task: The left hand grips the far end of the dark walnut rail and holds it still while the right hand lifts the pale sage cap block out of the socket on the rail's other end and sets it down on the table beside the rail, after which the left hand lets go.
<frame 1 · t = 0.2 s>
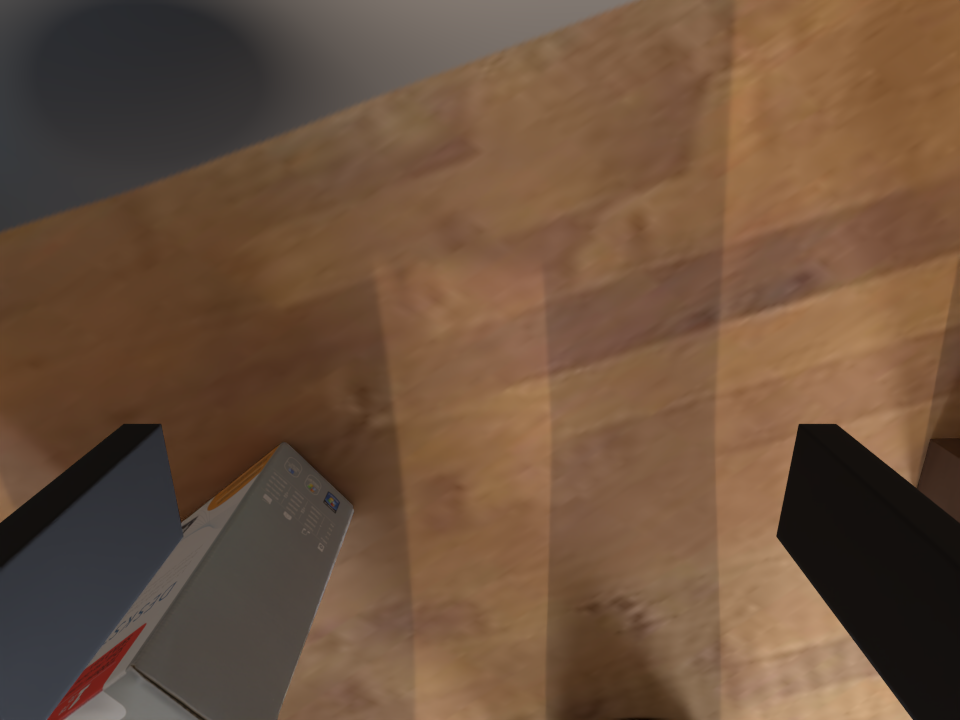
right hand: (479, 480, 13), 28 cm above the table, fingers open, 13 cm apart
hard drive box: (250, 526, 46), on the table
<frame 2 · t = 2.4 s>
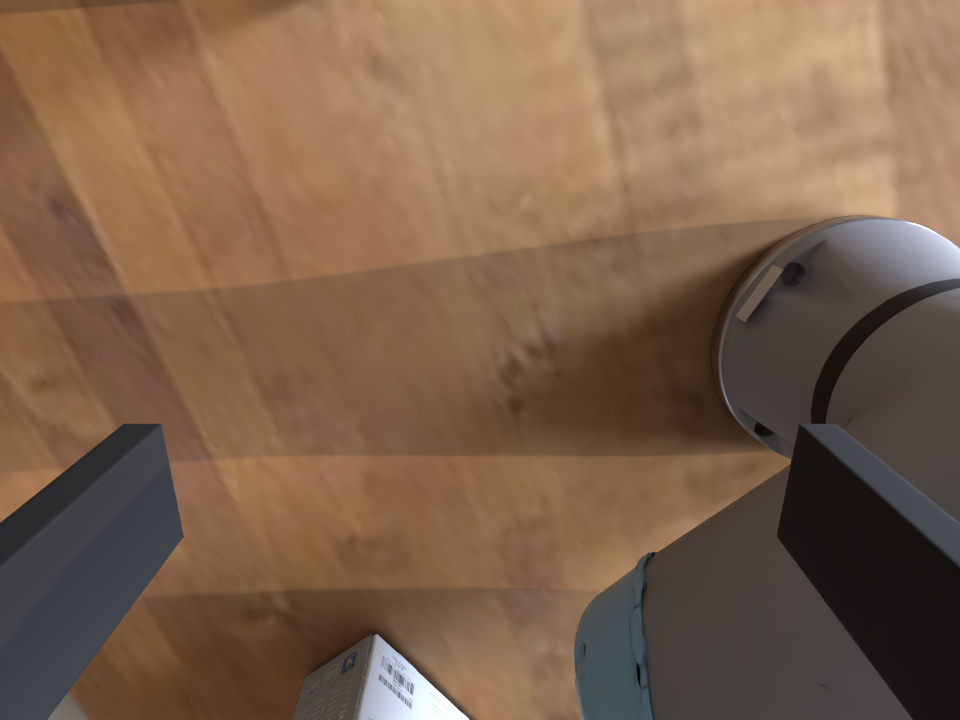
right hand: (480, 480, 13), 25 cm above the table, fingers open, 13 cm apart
hard drive box: (404, 709, 48), on the table
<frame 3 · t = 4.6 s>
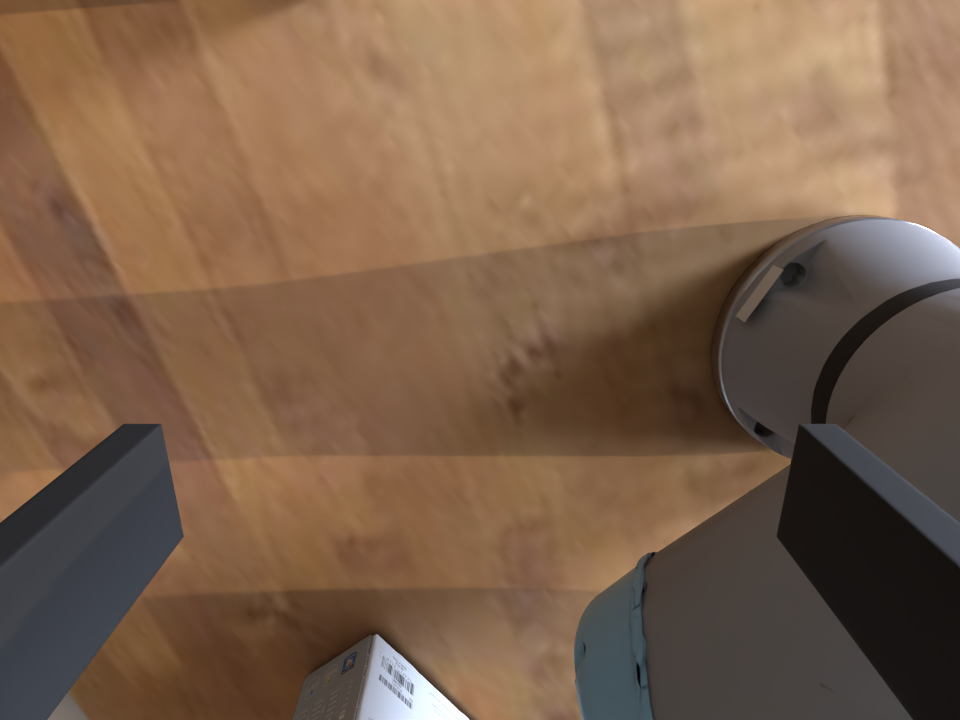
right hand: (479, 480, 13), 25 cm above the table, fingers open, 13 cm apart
hard drive box: (404, 709, 48), on the table
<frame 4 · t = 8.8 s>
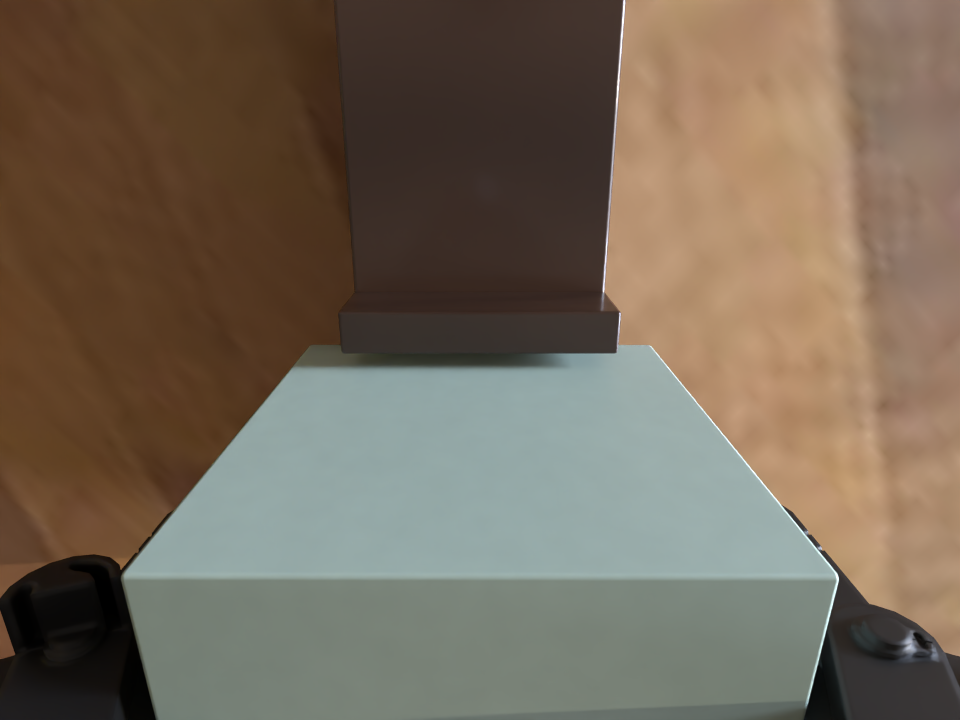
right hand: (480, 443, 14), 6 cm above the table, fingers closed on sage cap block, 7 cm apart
walnut rail: (479, 129, 18), on the table, touching left hand, sage cap block
sage cap block: (480, 464, 13), point 7 cm above the table, touching right hand, walnut rail
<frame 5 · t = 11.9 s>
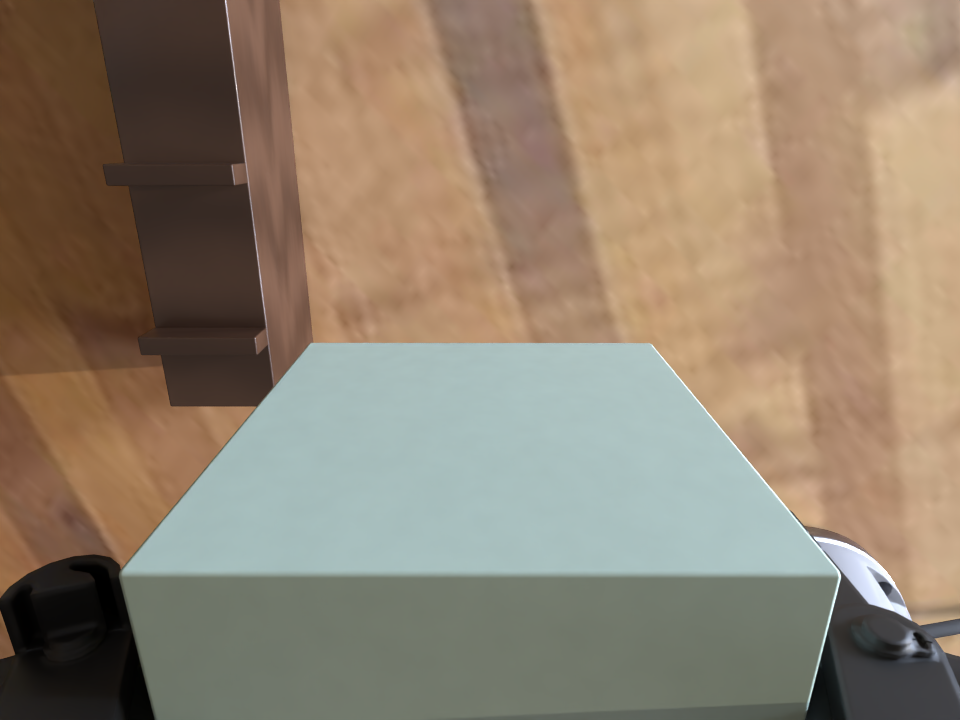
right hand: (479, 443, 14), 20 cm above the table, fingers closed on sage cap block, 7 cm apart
walnut rail: (238, 92, 30), on the table, touching left hand
sage cap block: (480, 462, 13), point 21 cm above the table, touching right hand
when the right hand's fingers open (2 cm above the table, at t = 15.6 s): sage cap block drops 3 cm, on the table.
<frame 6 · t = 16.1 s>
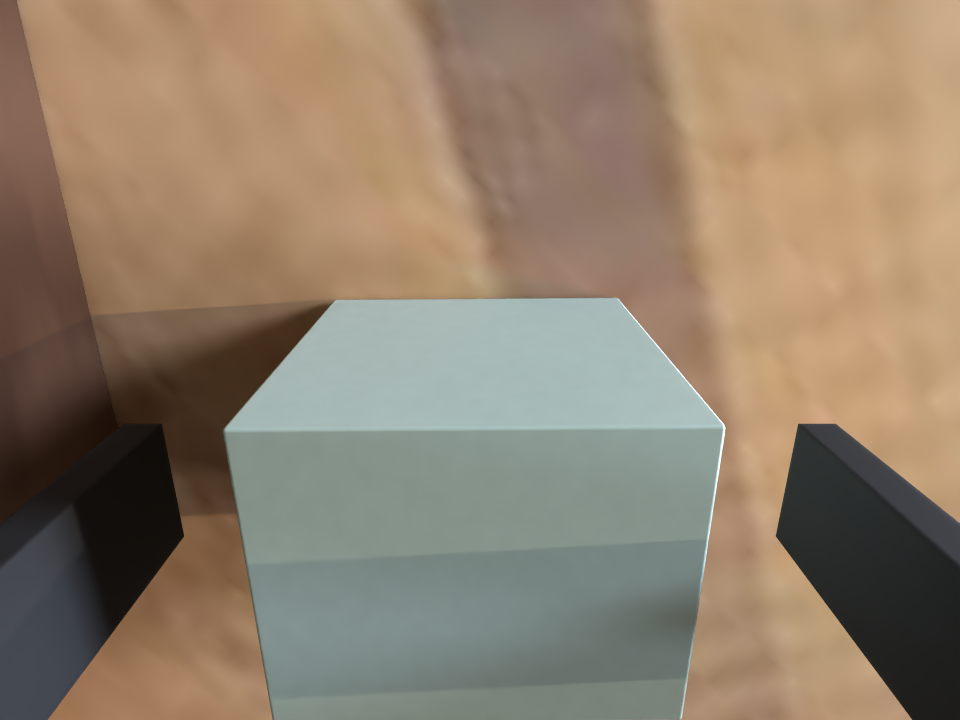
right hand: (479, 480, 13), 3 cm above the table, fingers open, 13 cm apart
sage cap block: (477, 402, 16), on the table
when the left hand's fingers open (2 cm above the table, at t = 19.1 s): walnut rail stays where it is, on the table.
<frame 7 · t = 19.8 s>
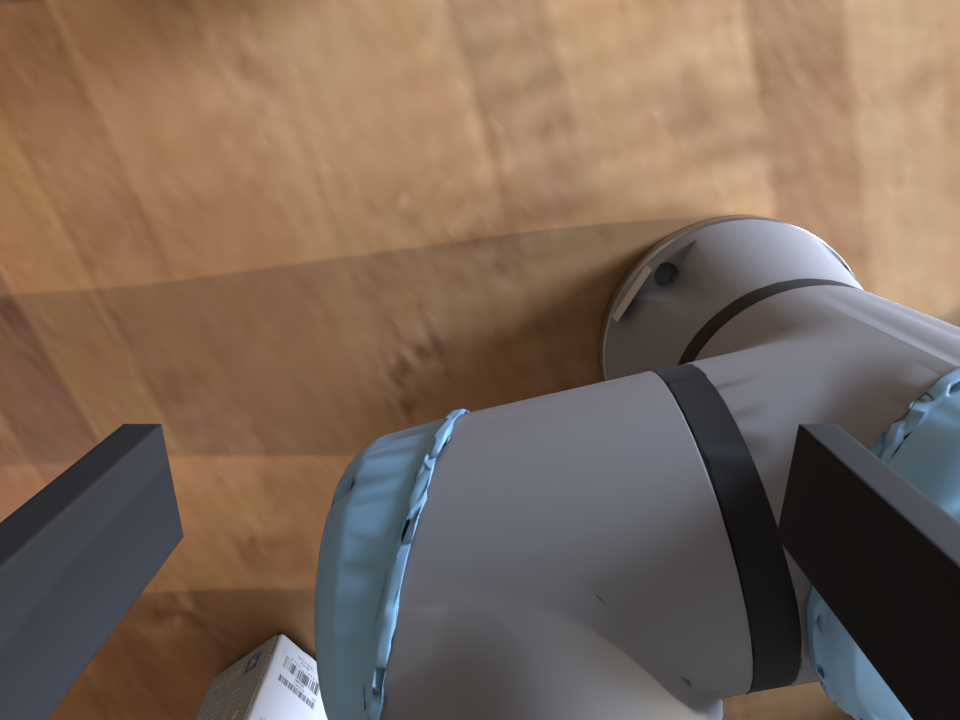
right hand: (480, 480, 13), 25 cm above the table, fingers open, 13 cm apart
hard drive box: (317, 709, 48), on the table
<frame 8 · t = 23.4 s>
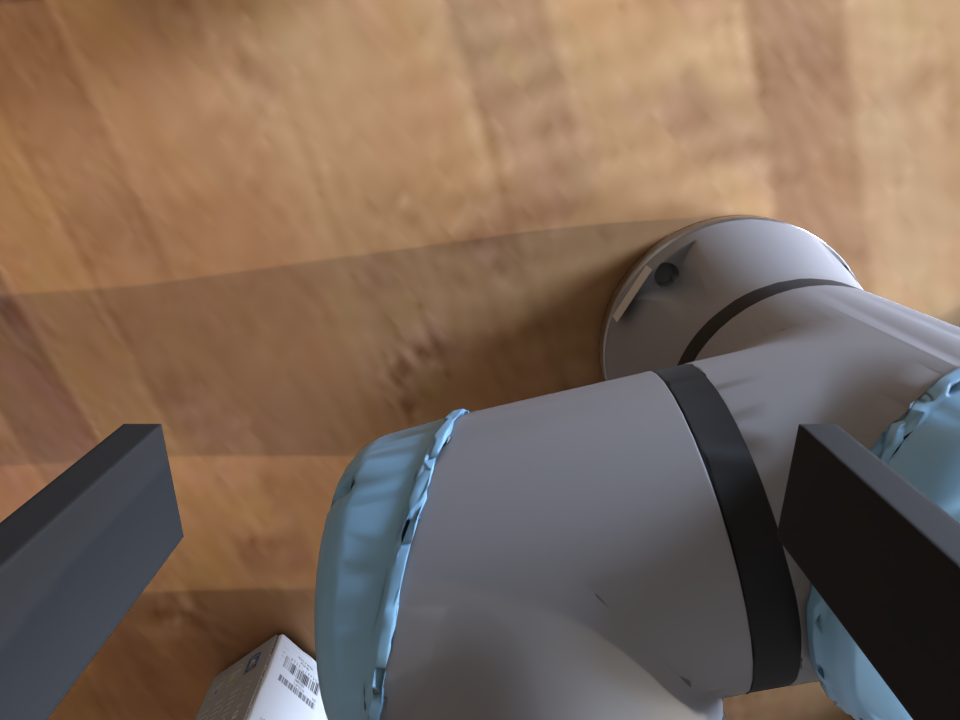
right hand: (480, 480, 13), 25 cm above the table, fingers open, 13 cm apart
hard drive box: (317, 709, 48), on the table
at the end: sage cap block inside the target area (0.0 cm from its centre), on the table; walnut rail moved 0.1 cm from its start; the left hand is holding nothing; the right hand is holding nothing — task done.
